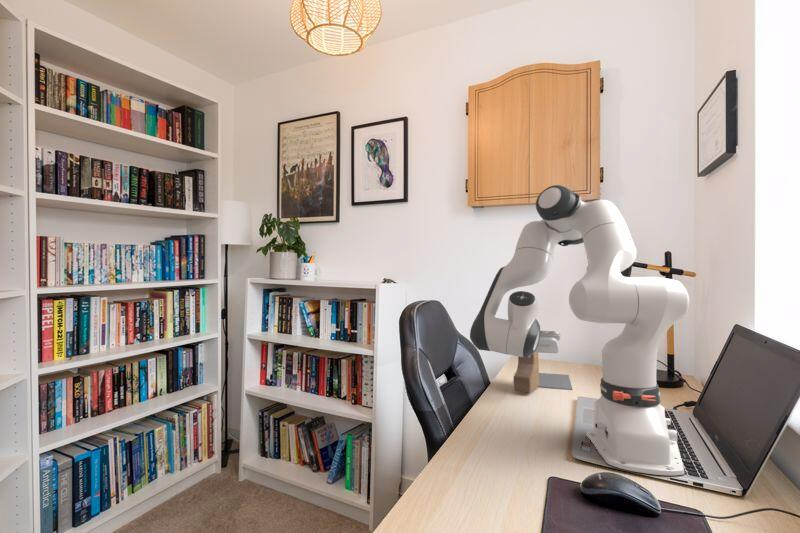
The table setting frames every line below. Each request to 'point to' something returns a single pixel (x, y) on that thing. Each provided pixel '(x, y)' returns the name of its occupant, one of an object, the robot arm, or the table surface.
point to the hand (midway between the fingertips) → (525, 355)
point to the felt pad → (554, 381)
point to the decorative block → (527, 374)
